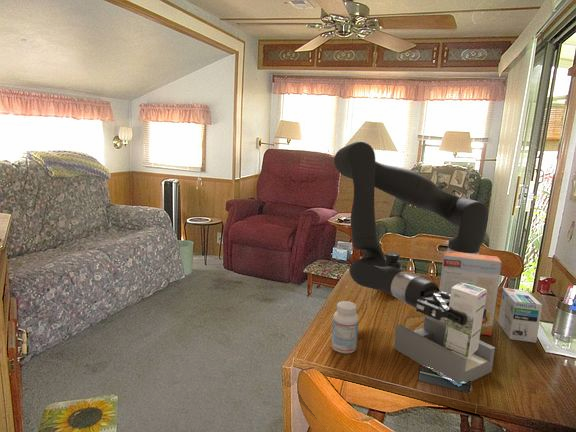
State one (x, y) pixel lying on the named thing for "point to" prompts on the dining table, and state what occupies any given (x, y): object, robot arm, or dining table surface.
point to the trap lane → (442, 352)
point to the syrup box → (471, 305)
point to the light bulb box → (520, 315)
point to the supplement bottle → (393, 260)
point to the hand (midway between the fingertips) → (475, 317)
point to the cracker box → (473, 279)
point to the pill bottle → (345, 327)
